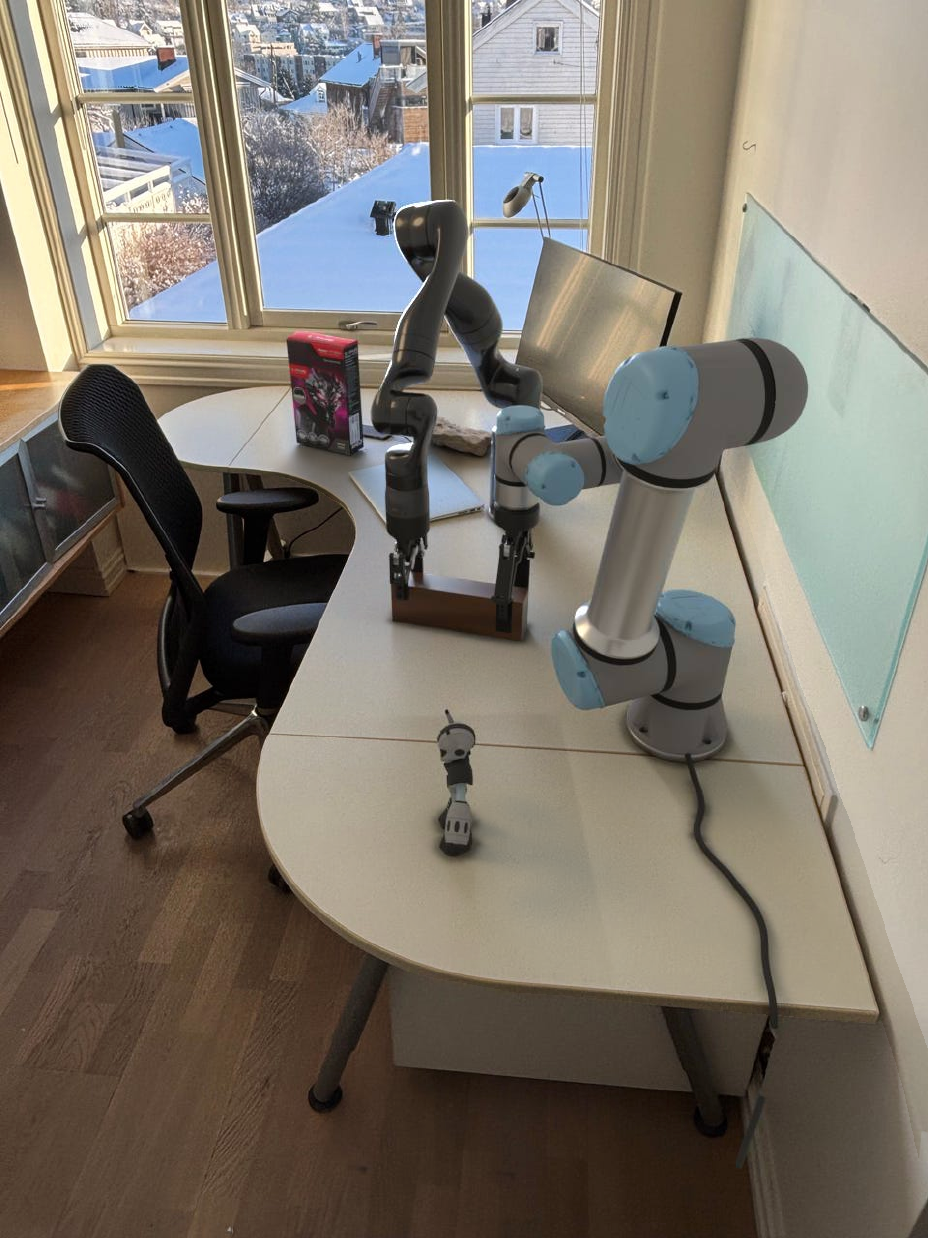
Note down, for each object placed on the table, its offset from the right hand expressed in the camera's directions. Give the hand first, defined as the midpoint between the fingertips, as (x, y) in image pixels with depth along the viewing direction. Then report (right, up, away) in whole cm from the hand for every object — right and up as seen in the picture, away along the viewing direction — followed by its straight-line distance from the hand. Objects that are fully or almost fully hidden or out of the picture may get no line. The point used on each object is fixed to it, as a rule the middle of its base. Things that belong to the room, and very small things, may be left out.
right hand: (512, 610), depth 162 cm
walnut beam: (-9, -2, +5) cm, 11 cm away
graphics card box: (-42, +42, +71) cm, 93 cm away
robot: (-10, -31, -37) cm, 49 cm away
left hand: (-18, +4, +3) cm, 19 cm away
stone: (-12, +43, +72) cm, 84 cm away
